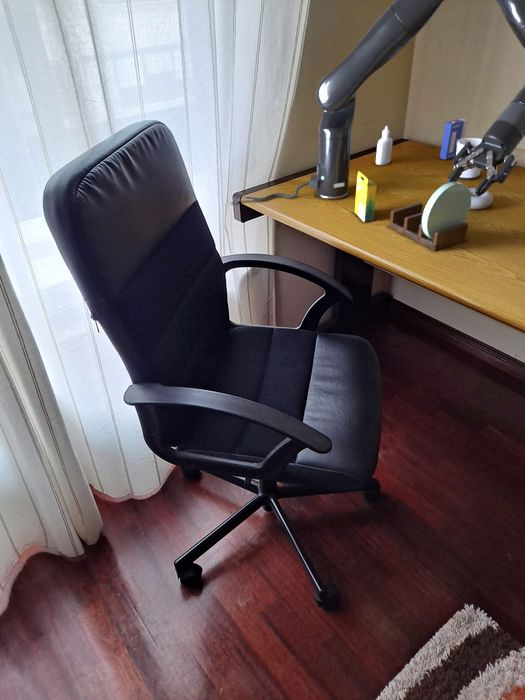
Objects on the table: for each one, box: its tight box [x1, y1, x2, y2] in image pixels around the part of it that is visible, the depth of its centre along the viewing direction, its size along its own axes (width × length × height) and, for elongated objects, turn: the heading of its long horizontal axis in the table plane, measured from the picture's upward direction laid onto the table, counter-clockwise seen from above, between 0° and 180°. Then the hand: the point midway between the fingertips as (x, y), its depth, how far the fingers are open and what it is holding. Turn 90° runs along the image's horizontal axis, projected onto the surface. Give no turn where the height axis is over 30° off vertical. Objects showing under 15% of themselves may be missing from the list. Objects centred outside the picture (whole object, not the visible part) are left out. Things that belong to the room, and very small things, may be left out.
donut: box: [468, 187, 494, 210], centre depth 140 cm, size 10×4×10 cm
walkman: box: [439, 118, 468, 160], centre depth 170 cm, size 8×3×12 cm, turn 121°
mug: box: [453, 137, 483, 181], centre depth 156 cm, size 11×9×10 cm
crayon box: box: [354, 170, 378, 223], centre depth 134 cm, size 7×3×12 cm, turn 12°
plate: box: [422, 181, 471, 241], centre depth 119 cm, size 2×14×14 cm, turn 119°
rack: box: [389, 201, 469, 252], centre depth 126 cm, size 17×10×4 cm, turn 29°
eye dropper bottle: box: [375, 125, 394, 166], centre depth 168 cm, size 4×6×12 cm
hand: (462, 188), depth 118 cm, fingers open, 8 cm apart
